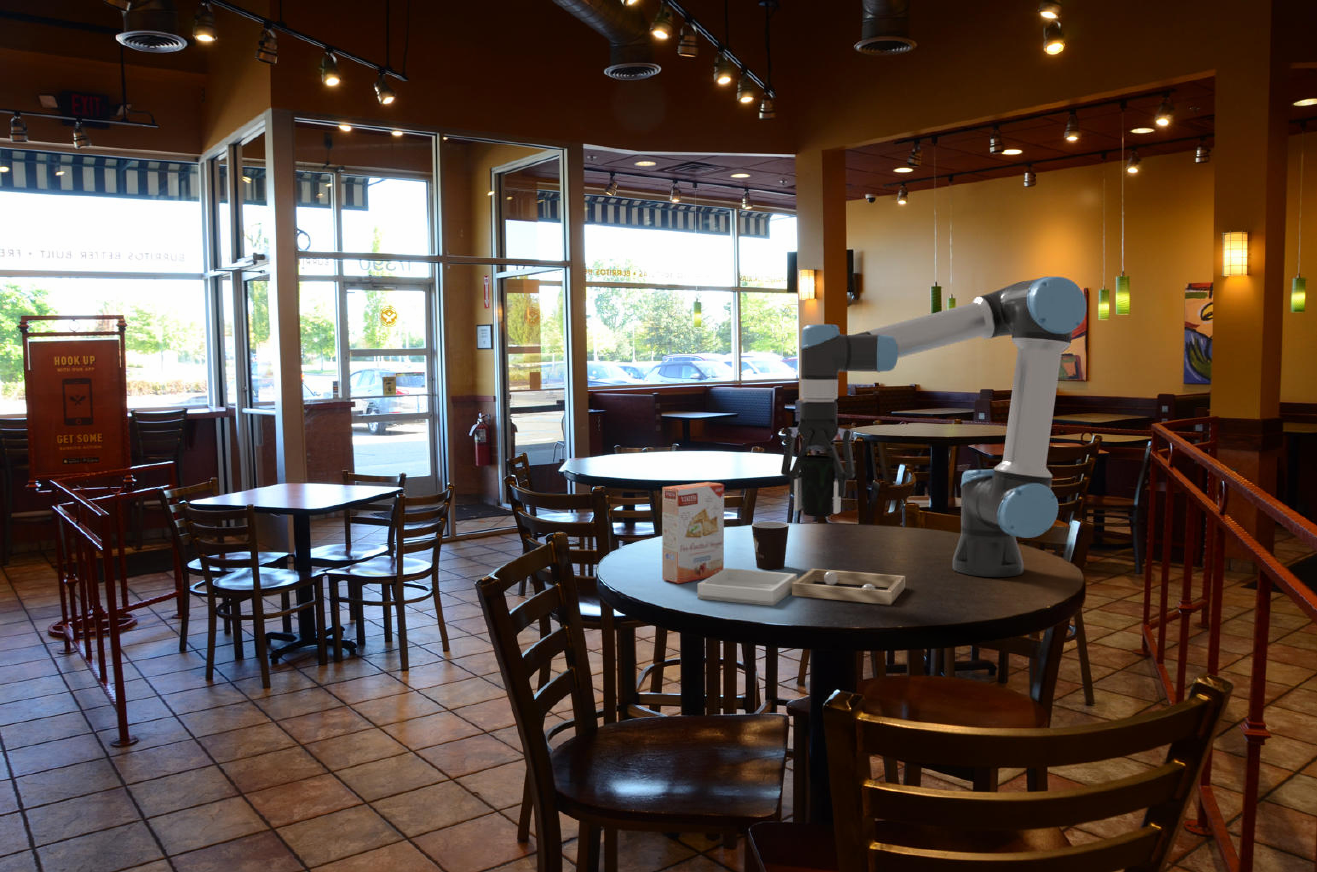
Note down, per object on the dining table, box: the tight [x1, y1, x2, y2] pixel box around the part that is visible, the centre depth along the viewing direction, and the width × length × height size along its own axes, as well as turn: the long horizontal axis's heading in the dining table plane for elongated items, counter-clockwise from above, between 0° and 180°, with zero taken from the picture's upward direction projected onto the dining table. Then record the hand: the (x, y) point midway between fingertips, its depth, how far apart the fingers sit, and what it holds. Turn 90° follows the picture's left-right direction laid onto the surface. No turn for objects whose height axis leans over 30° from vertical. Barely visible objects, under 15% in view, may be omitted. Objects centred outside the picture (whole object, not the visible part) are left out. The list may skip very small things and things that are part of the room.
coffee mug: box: [751, 521, 790, 571], centre depth 223 cm, size 12×9×10 cm
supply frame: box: [791, 568, 906, 606], centre depth 197 cm, size 20×15×2 cm
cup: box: [799, 454, 836, 518], centre depth 196 cm, size 8×8×12 cm
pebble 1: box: [824, 571, 838, 586], centre depth 203 cm, size 3×3×3 cm
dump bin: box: [697, 567, 798, 607], centre depth 197 cm, size 16×16×3 cm
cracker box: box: [661, 481, 725, 584], centre depth 212 cm, size 14×6×21 cm, turn 130°
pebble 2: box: [861, 584, 877, 590], centre depth 191 cm, size 3×3×3 cm
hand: (817, 511), depth 196 cm, fingers closed on cup, 8 cm apart
